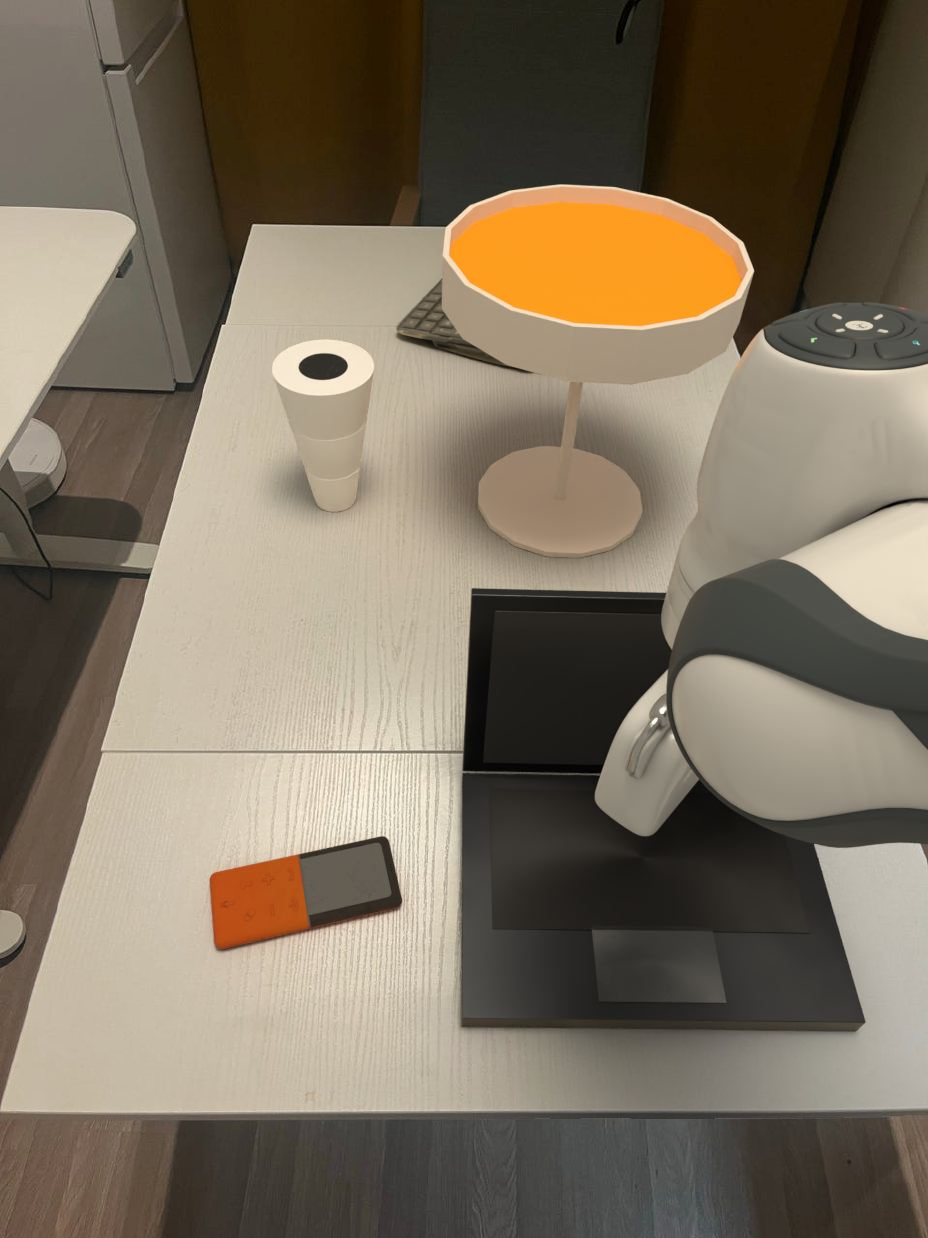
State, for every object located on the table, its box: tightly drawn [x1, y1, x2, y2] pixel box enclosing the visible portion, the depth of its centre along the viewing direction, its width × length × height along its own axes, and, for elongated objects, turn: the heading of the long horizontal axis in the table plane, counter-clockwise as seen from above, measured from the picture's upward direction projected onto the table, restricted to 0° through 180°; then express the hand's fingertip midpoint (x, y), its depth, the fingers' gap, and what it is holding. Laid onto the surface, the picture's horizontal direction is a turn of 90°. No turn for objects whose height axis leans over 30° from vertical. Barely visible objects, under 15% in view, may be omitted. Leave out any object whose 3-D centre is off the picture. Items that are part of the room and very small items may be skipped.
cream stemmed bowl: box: [441, 183, 755, 559], centre depth 96 cm, size 30×30×31 cm
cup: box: [271, 339, 375, 513], centre depth 100 cm, size 11×11×18 cm
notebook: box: [460, 772, 866, 1032], centre depth 74 cm, size 21×30×2 cm
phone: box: [209, 835, 403, 950], centre depth 73 cm, size 6×1×15 cm
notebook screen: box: [461, 587, 672, 775], centre depth 73 cm, size 21×30×1 cm
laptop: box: [395, 278, 517, 369], centre depth 134 cm, size 26×32×10 cm
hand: (695, 761), depth 56 cm, fingers open, 8 cm apart
